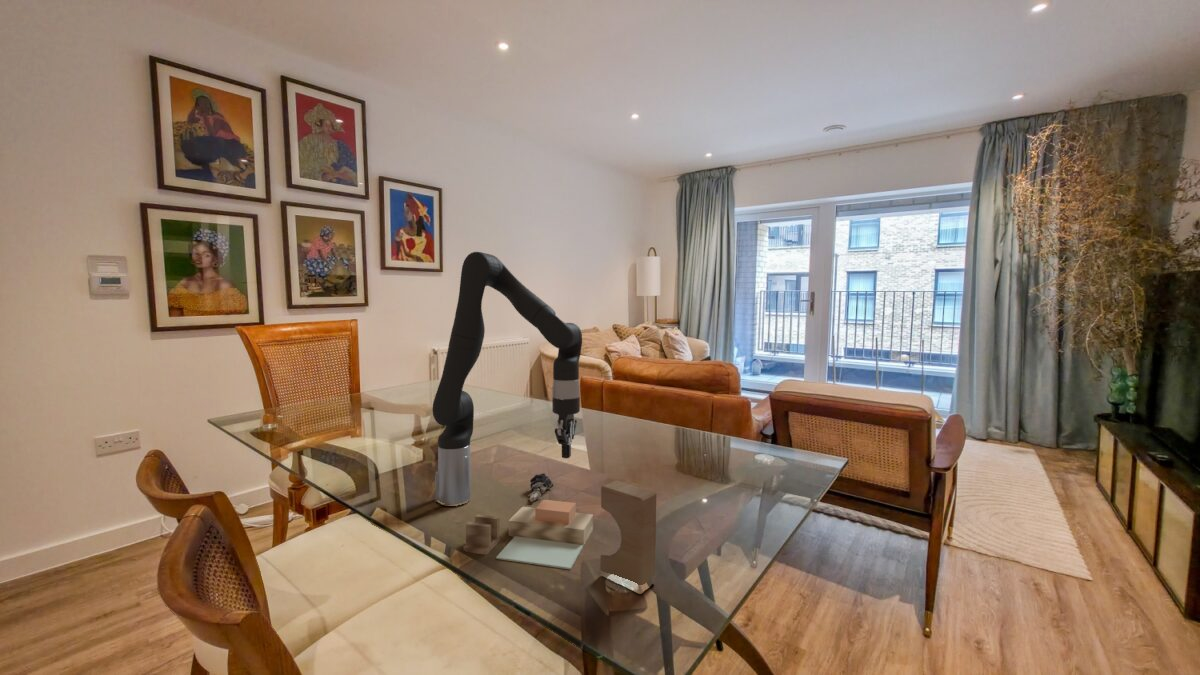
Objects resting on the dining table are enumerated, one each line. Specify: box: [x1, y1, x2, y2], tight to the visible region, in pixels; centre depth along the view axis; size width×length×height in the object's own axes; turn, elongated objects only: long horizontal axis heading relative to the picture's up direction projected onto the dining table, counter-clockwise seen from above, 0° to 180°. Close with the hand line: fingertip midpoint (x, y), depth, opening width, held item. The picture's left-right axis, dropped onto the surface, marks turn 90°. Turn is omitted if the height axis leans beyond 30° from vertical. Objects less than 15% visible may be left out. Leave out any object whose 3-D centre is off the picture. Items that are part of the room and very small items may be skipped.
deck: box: [508, 506, 594, 547], centre depth 120 cm, size 20×9×4 cm, turn 76°
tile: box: [534, 499, 577, 524], centre depth 120 cm, size 9×6×3 cm, turn 76°
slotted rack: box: [463, 513, 503, 556], centre depth 113 cm, size 6×8×6 cm
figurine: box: [527, 473, 554, 502], centre depth 146 cm, size 7×6×15 cm
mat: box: [495, 536, 584, 570], centre depth 110 cm, size 18×10×1 cm, turn 76°
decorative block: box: [599, 479, 657, 585], centre depth 99 cm, size 11×6×20 cm, turn 49°
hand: (566, 457), depth 128 cm, fingers closed
